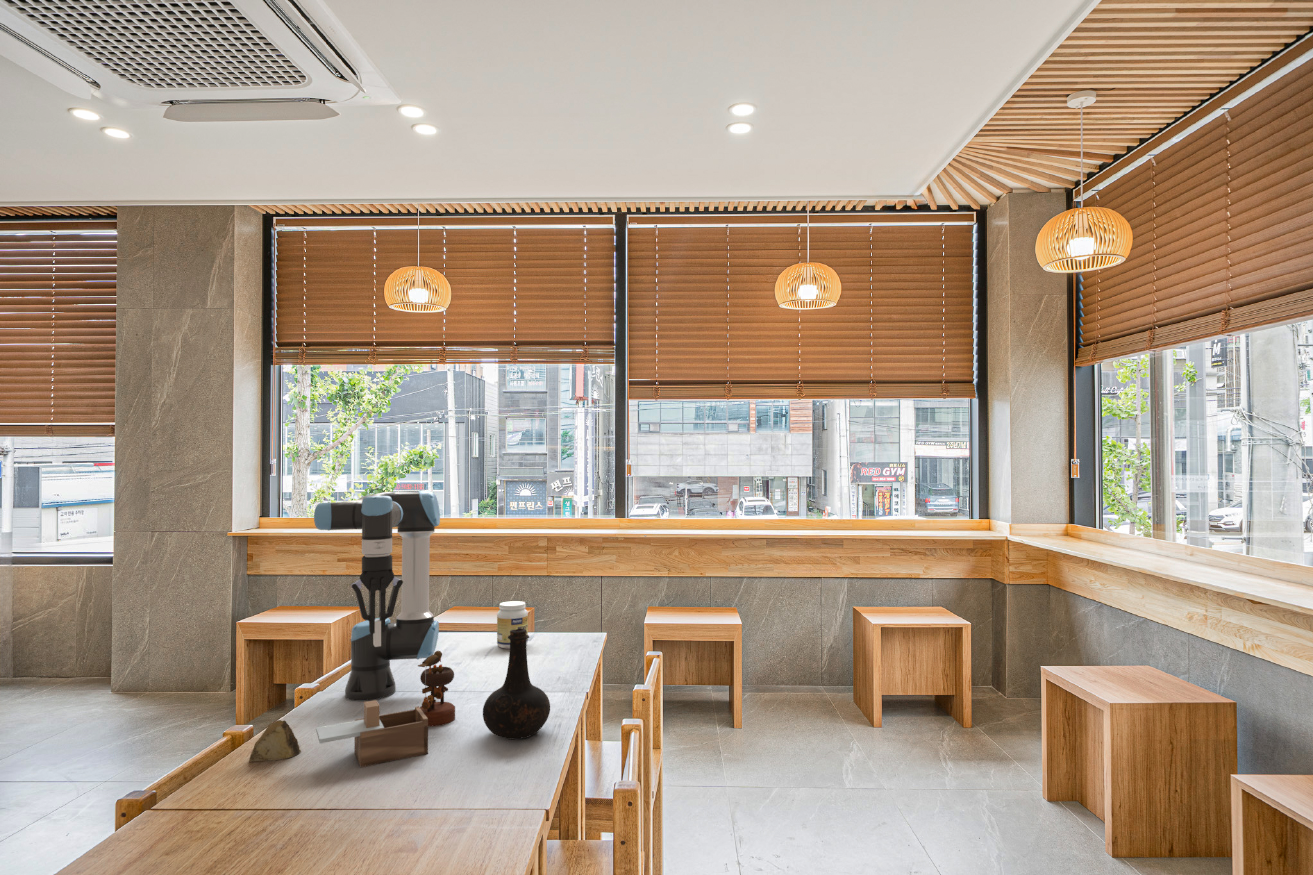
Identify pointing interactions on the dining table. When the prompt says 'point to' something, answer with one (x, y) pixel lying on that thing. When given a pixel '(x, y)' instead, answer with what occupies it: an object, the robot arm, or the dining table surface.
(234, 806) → the dining table surface
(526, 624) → the supplement tub
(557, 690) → the dining table surface
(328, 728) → the lid
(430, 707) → the wooden bird figurine
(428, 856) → the dining table surface
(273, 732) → the rock
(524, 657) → the glass bottle
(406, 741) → the box
